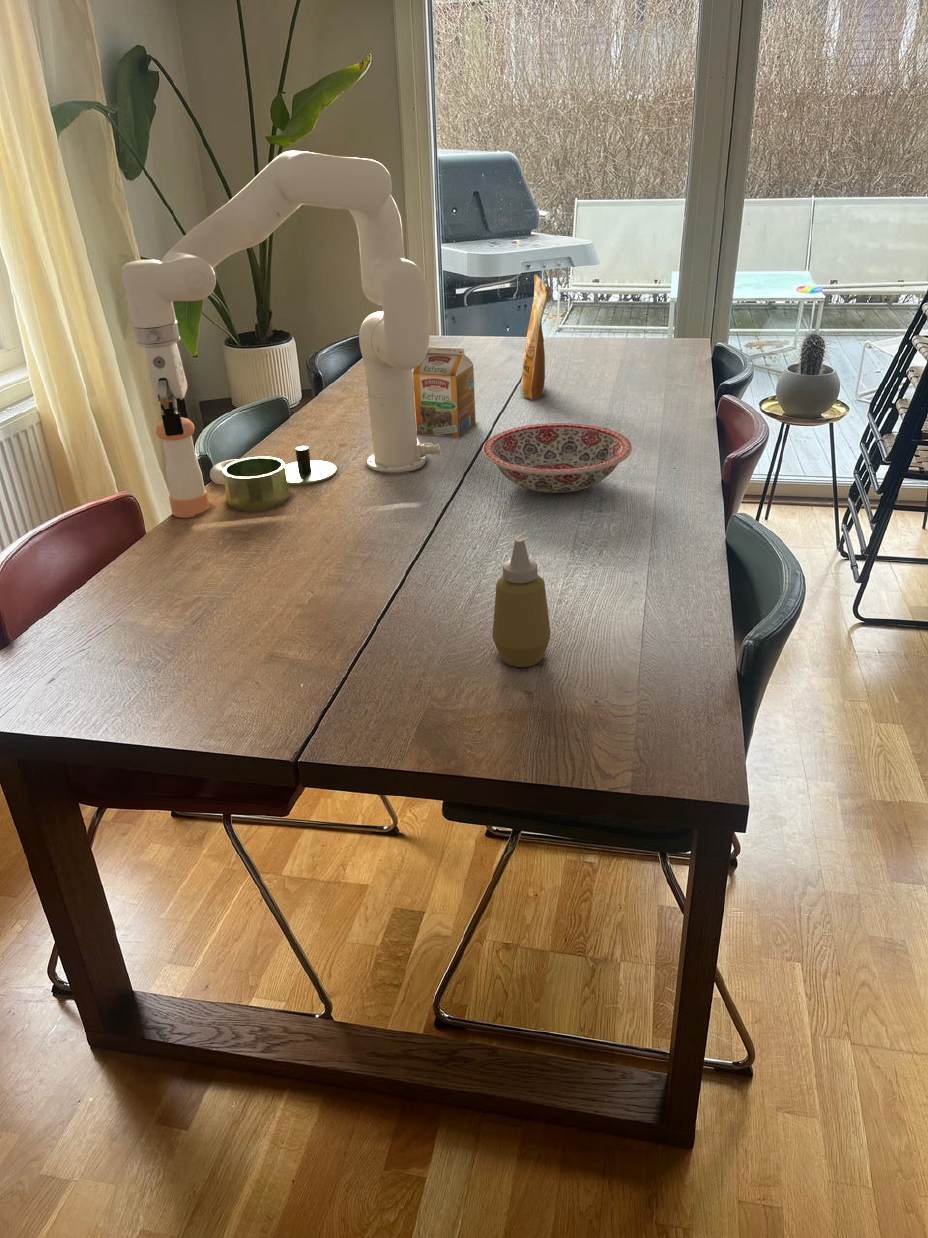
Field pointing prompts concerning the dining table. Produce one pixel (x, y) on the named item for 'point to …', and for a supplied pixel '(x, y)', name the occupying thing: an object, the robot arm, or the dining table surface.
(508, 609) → the squeeze bottle
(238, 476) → the pot
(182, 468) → the pepper shaker
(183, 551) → the dining table surface
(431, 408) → the milk carton
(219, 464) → the donut
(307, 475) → the lid
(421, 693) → the dining table surface
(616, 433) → the ceramic bowl
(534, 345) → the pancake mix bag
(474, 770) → the dining table surface
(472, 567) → the dining table surface
